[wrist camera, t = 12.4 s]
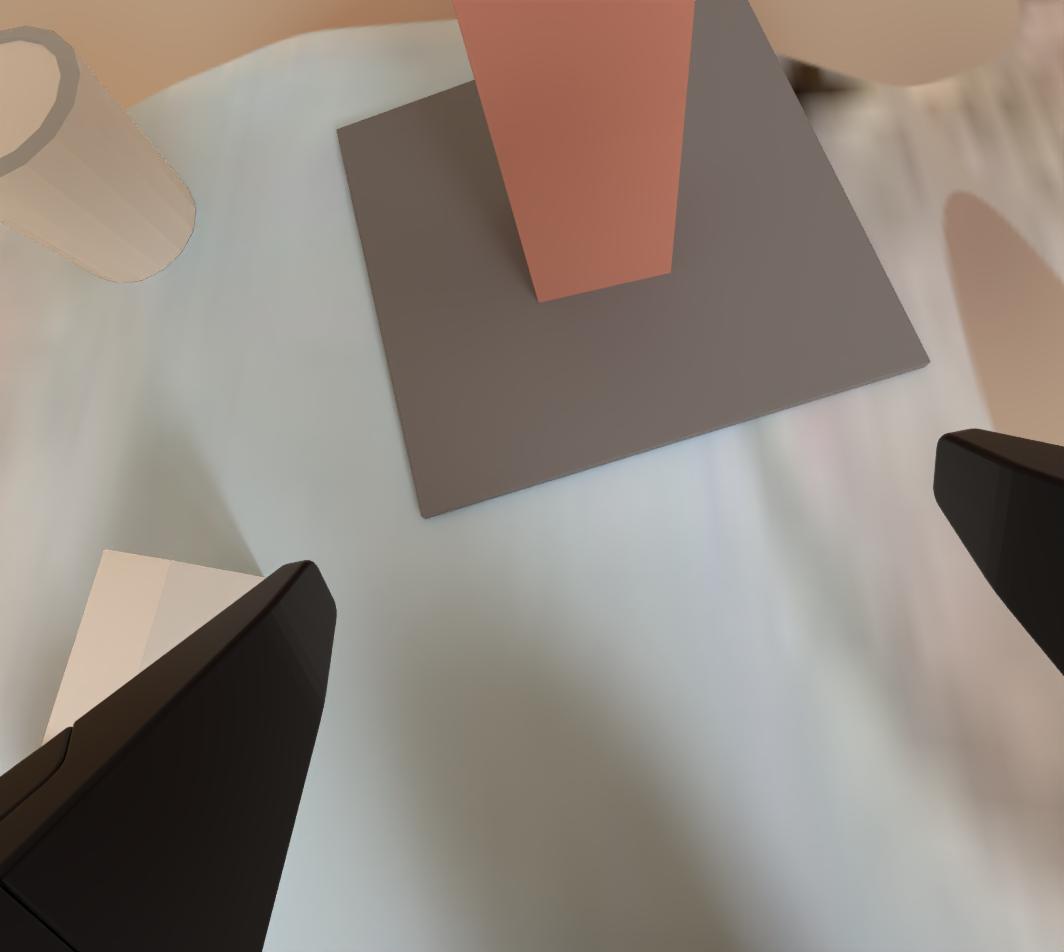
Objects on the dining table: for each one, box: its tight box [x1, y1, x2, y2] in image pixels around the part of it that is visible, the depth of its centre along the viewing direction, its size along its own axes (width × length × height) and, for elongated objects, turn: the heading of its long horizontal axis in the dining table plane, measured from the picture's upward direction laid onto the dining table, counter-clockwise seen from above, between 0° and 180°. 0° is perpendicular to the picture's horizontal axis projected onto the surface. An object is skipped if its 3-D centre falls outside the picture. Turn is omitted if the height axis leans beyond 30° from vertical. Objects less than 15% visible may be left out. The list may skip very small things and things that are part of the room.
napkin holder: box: [41, 549, 264, 746], centre depth 20 cm, size 15×11×6 cm
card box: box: [452, 0, 695, 303], centre depth 18 cm, size 5×5×13 cm
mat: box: [337, 0, 930, 519], centre depth 25 cm, size 18×18×1 cm
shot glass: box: [0, 26, 196, 283], centre depth 25 cm, size 7×7×7 cm
